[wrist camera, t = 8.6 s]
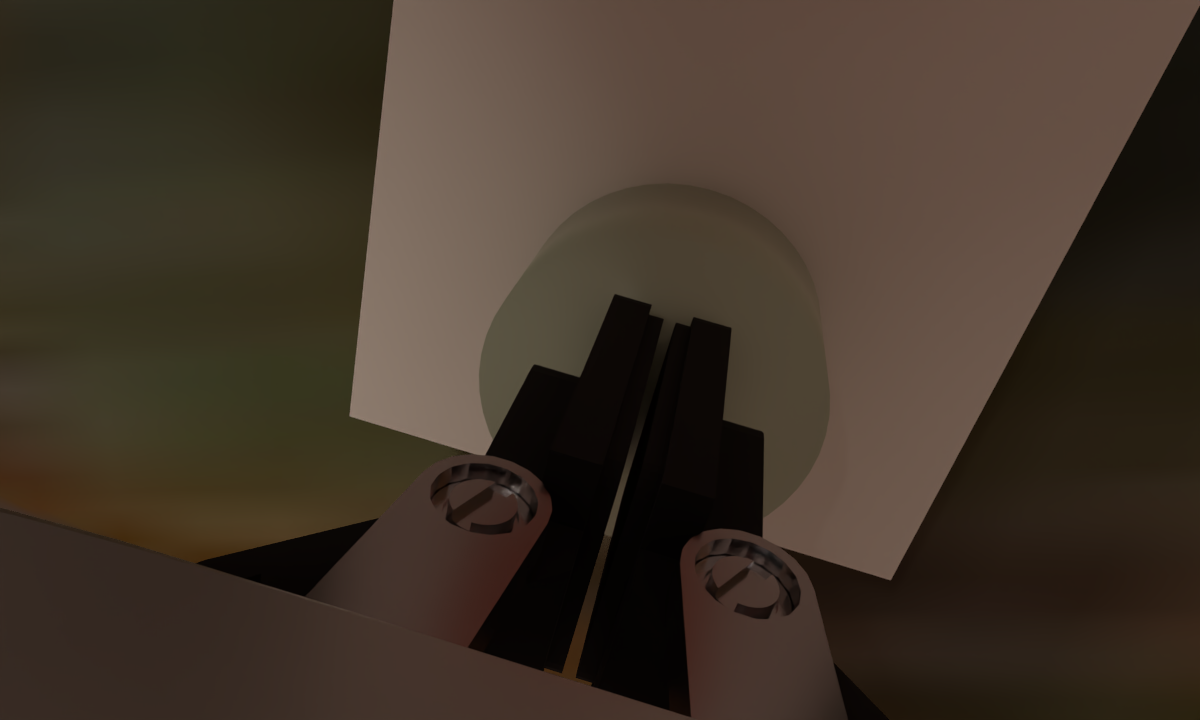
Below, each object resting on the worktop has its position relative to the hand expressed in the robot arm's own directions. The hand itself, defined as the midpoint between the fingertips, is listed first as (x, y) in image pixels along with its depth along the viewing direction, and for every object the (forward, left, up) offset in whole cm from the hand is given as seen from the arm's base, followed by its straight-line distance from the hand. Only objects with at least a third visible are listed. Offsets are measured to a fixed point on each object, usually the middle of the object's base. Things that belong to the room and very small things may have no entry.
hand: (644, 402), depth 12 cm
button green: (0, 0, -3) cm, 3 cm away
